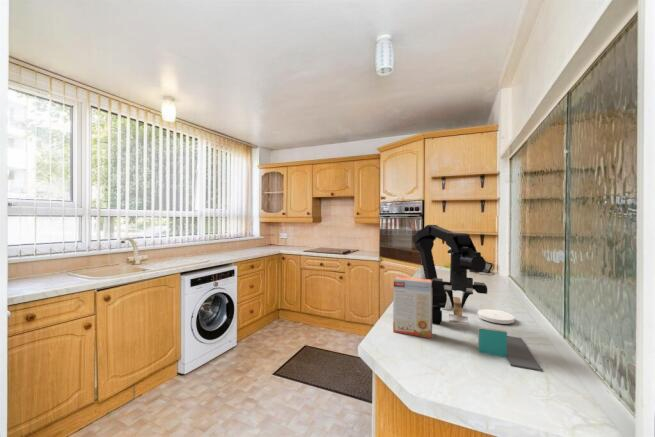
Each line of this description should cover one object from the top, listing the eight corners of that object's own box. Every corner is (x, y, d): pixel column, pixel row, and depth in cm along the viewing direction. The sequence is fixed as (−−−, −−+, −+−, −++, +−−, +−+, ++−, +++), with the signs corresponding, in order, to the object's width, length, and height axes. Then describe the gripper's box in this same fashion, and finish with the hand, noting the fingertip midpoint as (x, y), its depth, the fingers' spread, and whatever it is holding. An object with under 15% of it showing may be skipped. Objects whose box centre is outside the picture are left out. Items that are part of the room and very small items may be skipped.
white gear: (478, 312, 137) (478, 307, 137) (513, 318, 130) (513, 312, 129) (476, 321, 125) (476, 316, 125) (515, 328, 117) (515, 322, 117)
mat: (510, 365, 87) (510, 364, 87) (496, 335, 109) (496, 334, 109) (542, 371, 84) (542, 369, 84) (520, 339, 107) (521, 337, 107)
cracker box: (432, 333, 111) (433, 279, 111) (430, 339, 105) (431, 282, 105) (395, 326, 117) (396, 275, 117) (392, 332, 111) (393, 278, 111)
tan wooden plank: (449, 322, 98) (449, 313, 98) (448, 303, 118) (448, 296, 118) (468, 325, 95) (469, 316, 95) (464, 305, 116) (464, 298, 116)
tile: (478, 352, 96) (479, 328, 96) (478, 350, 97) (478, 326, 97) (506, 356, 93) (507, 332, 93) (505, 354, 94) (505, 330, 94)
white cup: (445, 311, 137) (445, 290, 137) (432, 306, 144) (432, 286, 144) (456, 309, 140) (456, 288, 140) (443, 304, 147) (443, 285, 147)
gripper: (431, 268, 103) (430, 311, 104) (490, 273, 96) (488, 319, 97) (432, 263, 114) (431, 302, 114) (485, 267, 107) (484, 309, 107)
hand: (457, 308), depth 108 cm, fingers closed on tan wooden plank, 3 cm apart
